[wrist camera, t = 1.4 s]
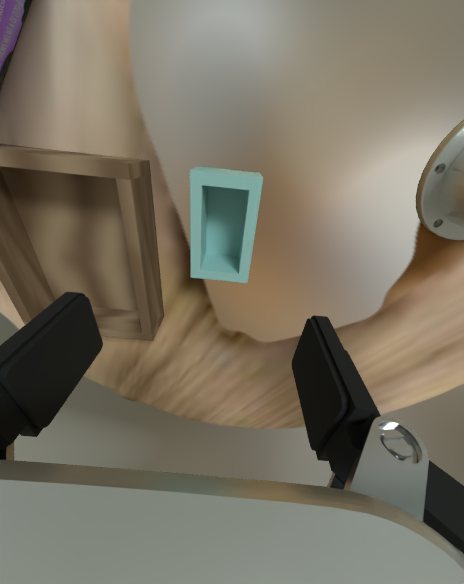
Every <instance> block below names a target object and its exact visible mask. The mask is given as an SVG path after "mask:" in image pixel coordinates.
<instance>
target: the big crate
mask: <svg viewBox="0 0 464 584" xmlns="http://www.w3.org/2000/svg"><path fill="white" fill-rule="evenodd" d="M0 280H1V282H2V284H3V286H4V288H5V289H6V291H7V293H8V295H9V297H10V299H11V300H12V302H13V304H14V306H15V308H16V309H17V311H18V313H19V315H20V317H21V319H22V320H23V322H24V324H25V325H26V324H27V323H29V322H30V321H31V320H32V319H33V318H35V317H36V316H37V315H38V314H39V313H41V312H42V311H43V310H44V309H46V308H47V307H48V306H49V305H50V304H52V303H53V302H54V301H55V300H57V299H58V298H59V297H60V296H61V295H63V294H64V293H65V292H78V293H84V294H85V296H86V297H88V298H89V300H90V303H91V306H92V310H93V313H94V316H95V319H96V322H97V326H98V329H99V332H100V335H101V336H106V337H117V338H128V339H139V340H149V341H153V339H154V337H155V335H156V333H157V331H158V328H159V326H160V324H161V322H162V320H163V317H164V311H163V300H162V290H161V279H160V269H159V258H158V247H157V237H156V226H155V216H154V205H153V195H152V184H151V174H150V163H149V160H140V159H131V158H122V157H112V156H103V155H94V154H85V153H76V152H67V151H58V150H49V149H40V148H30V147H21V146H12V145H3V144H0Z"/></svg>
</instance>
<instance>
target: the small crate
mask: <svg viewBox="0 0 464 584" xmlns="http://www.w3.org/2000/svg"><path fill="white" fill-rule="evenodd" d="M262 183H263V177H262V176H261V175H260V173H258V172H249V171H240V170H231V169H222V168H212V167H203V166H198V167H196V168H194V169H192V170H190V247H191V278H201V279H211V280H221V281H231V282H241V283H247V281H248V275H249V268H250V262H251V255H252V248H253V242H254V235H255V229H256V222H257V216H258V209H259V203H260V196H261V190H262Z"/></svg>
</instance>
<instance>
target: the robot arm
mask: <svg viewBox="0 0 464 584" xmlns="http://www.w3.org/2000/svg"><path fill="white" fill-rule="evenodd" d="M416 209H417V213H418V217H419V219H420V221H421V222H422V224H423V226H425V227H426V228H427V229H428V230H429V231H430V232H432V233H434V234H436V235H438V236H441V237H444V238H447V239H452V240H464V120H463V121H462V122H460V123H459V124H458V125H457V126H456V127H455V128H454V129H453V130H452V131H451V132H450V133H449V134H448V135H447V137H445V139H444V140H443V141H442V142H441V143H440V145H439V146H438V147H437V149H436V150H435V152H434V153H433V154H432V156H431V157H430V159H429V161H428V163H427V165H426V167H425V168H424V170H423V173H422V176H421V179H420V181H419V184H418V188H417V194H416ZM102 345H103V342H102V338H101V335H100V332H99V329H98V326H97V322H96V319H95V316H94V313H93V310H92V306H91V303H90V300H89V298H88V297H86V296H85V294H84V293H78V292H65V293H64V294H63V295H61V296H60V297H59V298H58V299H57V300H55V301H54V302H53V303H52V304H50V305H49V306H48V307H47V308H46V309H44V310H43V311H42V312H41V313H39V314H38V315H37V316H36V317H35V318H33V319H32V320H31V321H30V322H29V323H27V324H26V325H25V326H24V327H22V328H21V329H20V330H19V331H18V332H16V333H15V334H14V335H13V336H11V337H10V338H9V339H8V340H7V341H5V342H4V343H3V344H2V345H1V346H0V584H464V486H463V485H462V484H460V483H459V482H457V481H456V480H455V479H454V478H452V477H451V476H450V475H448V474H447V473H446V472H444V471H443V470H442V469H440V468H439V467H437V466H436V465H435V464H434V463H432V462H431V461H430V460H429V458H428V452H427V450H426V447H425V445H424V444H423V442H422V441H421V439H420V438H419V437H418V435H417V434H416V433H415V432H414V431H413V430H412V429H411V428H410V427H408V426H407V425H405V424H404V423H403V422H401V421H399V420H397V419H395V418H392V417H389V416H381V415H380V413H379V411H378V409H377V407H376V406H375V404H374V402H373V400H372V398H371V396H370V394H369V392H368V390H367V388H366V386H365V384H364V383H363V381H362V379H361V377H360V375H359V373H358V371H357V369H356V367H355V365H354V363H353V361H352V359H351V358H350V356H349V354H348V352H347V351H346V350H344V348H343V346H342V344H341V342H340V340H339V338H338V336H337V334H336V332H335V330H334V328H333V326H332V324H331V323H330V320H329V319H328V317H323V316H312V317H311V319H307V321H306V324H305V327H304V330H303V332H302V335H301V338H300V340H299V343H298V346H297V349H296V351H295V354H294V357H293V360H292V369H293V373H294V378H295V382H296V386H297V391H298V395H299V399H300V404H301V408H302V412H303V417H304V421H305V425H306V429H307V434H308V438H309V443H310V446H311V449H312V450H315V451H316V454H317V458H318V460H324V461H329V463H330V467H331V471H333V473H332V476H331V478H330V480H329V483H328V485H327V487H323V486H313V485H303V484H293V483H284V482H275V481H263V480H252V479H240V478H228V477H216V476H205V475H193V474H180V473H169V472H156V471H144V470H131V469H119V468H106V467H93V466H80V465H67V464H53V463H40V462H27V461H14V440H15V439H16V438H17V436H18V435H19V434H20V435H22V436H33V437H37V436H38V435H39V433H40V432H41V430H42V429H43V428H45V427H47V426H48V425H49V424H50V423H51V421H52V420H53V418H54V417H55V416H56V414H57V413H58V411H59V410H60V408H61V407H62V405H63V404H64V403H65V401H66V400H67V398H68V397H69V395H70V394H71V393H72V391H73V390H74V388H75V387H76V385H77V384H78V382H79V381H80V379H81V378H82V377H83V375H84V374H85V372H86V371H87V369H88V368H89V367H90V365H91V364H92V362H93V361H94V359H95V358H96V356H97V355H98V354H99V352H100V351H101V349H102Z"/></svg>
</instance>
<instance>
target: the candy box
mask: <svg viewBox="0 0 464 584" xmlns="http://www.w3.org/2000/svg"><path fill="white" fill-rule="evenodd" d="M30 1H31V0H0V84H1V81H2V79H3V76H4V74H5V71H6V68H7V65H8V62H9V59H10V57H11V54H12V52H13V49H14V46H15V43H16V40H17V38H18V35H19V32H20V29H21V26H22V23H23V21H24V19H25V16H26V13H27V10H28V7H29V4H30Z"/></svg>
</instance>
